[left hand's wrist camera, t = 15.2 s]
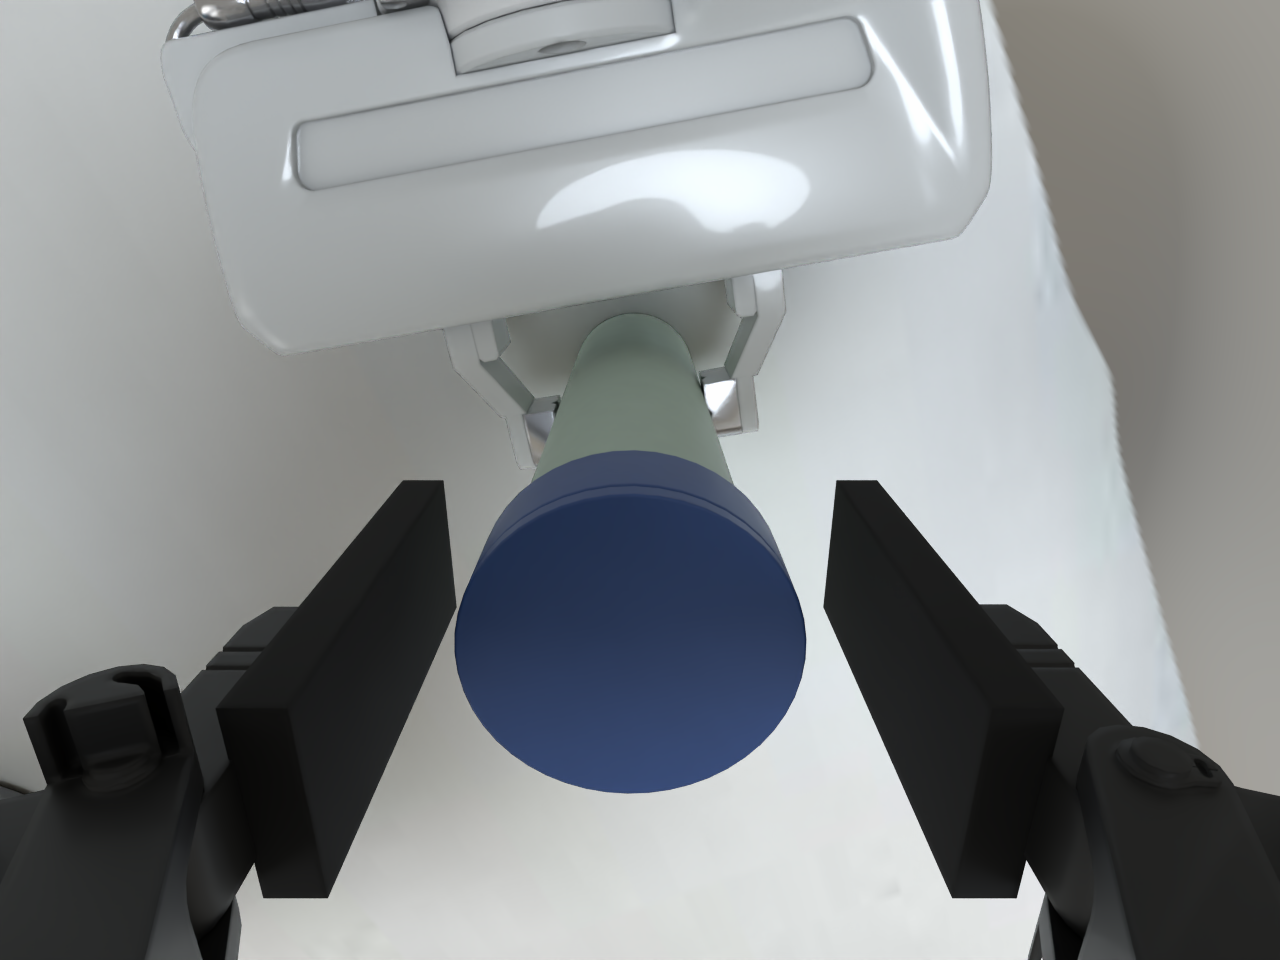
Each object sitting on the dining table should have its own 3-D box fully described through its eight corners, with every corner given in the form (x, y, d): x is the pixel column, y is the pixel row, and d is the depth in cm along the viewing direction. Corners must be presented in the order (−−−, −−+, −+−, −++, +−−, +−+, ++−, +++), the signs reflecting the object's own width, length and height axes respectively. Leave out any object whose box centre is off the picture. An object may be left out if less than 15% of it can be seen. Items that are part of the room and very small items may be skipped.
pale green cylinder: (689, 429, 29) (764, 759, 12) (576, 426, 29) (491, 754, 12) (695, 314, 28) (791, 508, 11) (575, 311, 28) (475, 502, 10)
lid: (769, 717, 14) (789, 797, 12) (487, 712, 14) (464, 792, 12) (796, 451, 12) (826, 497, 10) (470, 445, 12) (440, 490, 10)
